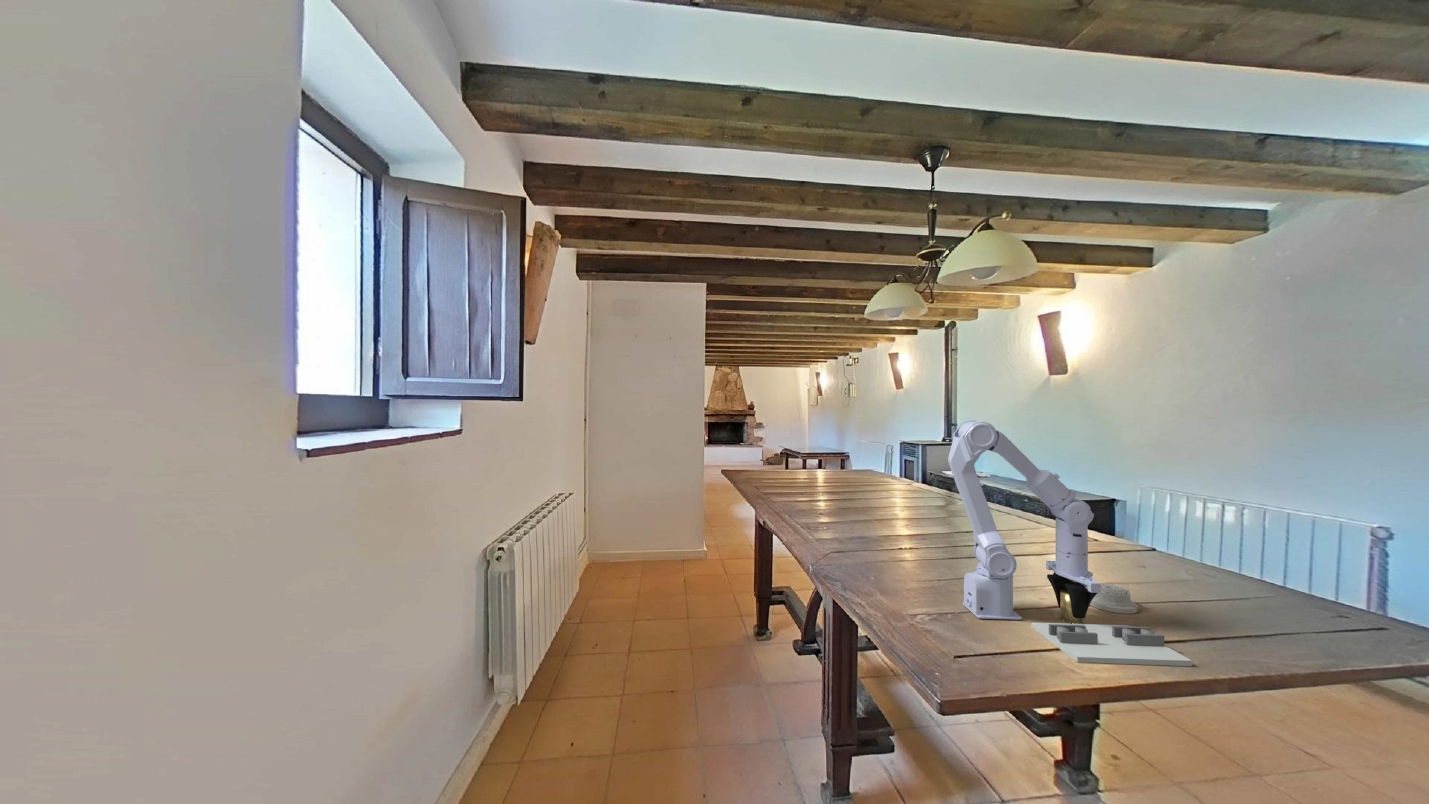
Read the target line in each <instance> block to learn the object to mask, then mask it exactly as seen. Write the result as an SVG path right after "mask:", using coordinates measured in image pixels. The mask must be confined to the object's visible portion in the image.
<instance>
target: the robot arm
mask: <svg viewBox="0 0 1429 804" xmlns="http://www.w3.org/2000/svg"><path fill="white" fill-rule="evenodd" d="M987 451H989V452H993V453H996V454H998V455H999V456H1001V458H1003V459H1004V460H1005V461H1006V462H1007V463H1008V464H1009V465H1011V467H1013V468H1014V469H1015V470H1016V471H1018V473H1020V474H1021V475H1022V476H1023V477H1024V478H1025V479H1026V487H1027V489H1028V490H1030V491H1031V493H1032V494H1034V495H1035V496H1036V497H1037V498H1038V499H1039V500H1040V501H1041V502H1042V503H1043V504H1044V505H1045V506H1046V507H1047V508H1048V509H1050V512H1051V515H1053V516H1055V560H1045V569H1046V570H1048V571H1053V573H1052V574H1047V575H1046V578H1047V579H1048V581H1049V583H1050V585H1051V587H1052V589H1053V592H1054V595H1055V598H1056V602H1057V605H1058V608H1059V609H1060V591H1061V590H1067V591H1068V593H1069V596H1070V601H1071V609H1072V615H1073V617H1074V618H1083V619H1086V616H1087V613H1088V610H1089V607H1090V606H1091V605H1090V603H1091V601H1092V599H1093V598H1094V597H1095V595H1096V594H1097V593H1101V584H1100V583H1101V582H1099V581H1097V580H1095V579H1094V577H1093V576H1094V575H1093V572H1091V571H1089V568H1088V567H1089V564H1088V563H1089V560H1088V559H1089V558H1088V557H1089V555H1088V554H1089V549H1088V548H1089V536H1088V534H1089V532H1088V531H1089V530H1088V528H1089V527H1088V526H1089V524H1090V523H1091V522H1092V521H1093V519H1094V517H1095V513H1094V512H1093V511H1092V510H1091V506H1090V505H1089V504H1088V503H1087V502H1085V501H1084V500H1081V499H1079V498H1077V497H1076V495H1077V492H1076V491H1075V490H1074V489H1069V488H1068V487H1067V486H1066V485H1065V484H1064V483H1062V482H1061V480H1059V479H1060V475H1058V474H1057V473H1056V472H1051V471H1050V470H1049V469H1048V470H1047V469H1046V470H1045V469H1039V468H1038V467H1037V466H1036V465H1035V464H1034V463H1033V462H1032V461H1031V460H1030V459H1029V458H1028V457H1027V456H1026V455H1025V454H1024V453H1023V452H1022V451H1021V450H1020V449H1019V448H1018V447H1017V446H1016V445H1015V443H1013V442H1012V441H1011V439H1009V438H1008V437H1007V436H1006V435H1005V434H1004V433H1003V432H1001V431H999V430H998V429H996V428H995V427H994V426H993V424H991V423H989V422H987V421H981V420H980V421H976V420H966V421H964V422H962V423H960V425H959V426H958V427H957V429H956V430H955V431H954V432H953V434H952V443H951V446H950V450H949V454H948V457H947V460H948V461H947V462H948V465H949V468H950V470H951V474H952V477H953V479H954V482H955V485H956V487H957V491H958V493H959V495H960V496H959V497H960V499H961V501H962V505H963V507H964V510H965V513H966V515H967V518H968V521H969V524H970V527H971V529H972V532H973V533H972V534H973V535H972V538H973V542H974V549H973V553H974V557H975V559H976V560H977V561H978V564H977V566H976V570H974V571H973V572H967V573H965V575H964V577H963V602H962V605H963V606H964V607H965V608H966V609H967V610H969V611H970V613H972V614H973V615H974V616H975V617H976V618H978V619H984V620H985V619H988V620H1013V621H1020V620H1021V621H1022V619H1023V617H1022V616H1021V615H1020V614H1018V613H1016V612H1015V611H1014V600H1013V599H1014V573H1015V572H1016V570H1017V566H1018V564H1017V560H1016V557H1015V556H1014V555H1013V554H1012V552H1010V551H1009V550H1008V549H1007V546H1006V544H1005V542H1004V540H1003V538H1002V536H1001V534H1000V533H999V531H998V529H997V526H996V523H995V520H994V517H993V514H992V512H991V510H990V507H989V504H988V500H987V498H986V496H985V492H984V489H983V488H982V485H981V482H980V478H979V477H978V474H977V471H976V468H975V464H976V462H977V461H978V460H979V458H980V457H981V456H982V454H984V453H985V452H987Z"/></svg>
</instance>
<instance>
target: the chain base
mask: <svg viewBox="0 0 1429 804" xmlns="http://www.w3.org/2000/svg"><path fill="white" fill-rule="evenodd" d="M1030 627H1031V628H1032V629H1033V630H1034V629H1035V630H1034V631H1036V633H1038V632H1039V633H1038V634H1039V635H1040V636H1042V635H1043V636H1042V637H1044V638H1045V639H1046V640H1047V641H1048V642H1050V643H1052V644H1053V645H1054V646H1055V647H1057V649H1058V650H1060V651H1062V652H1063V653H1064V654H1066V655H1067V656H1068V657H1070V658H1071V659H1072V660H1074V661H1075V662H1076V663H1082V664H1083V663H1086V664H1116V665H1117V664H1118V665H1119V664H1120V665H1139V666H1140V665H1141V666H1143V665H1144V666H1145V665H1146V666H1147V665H1148V666H1175V667H1193V661H1192V660H1191V659H1189V658H1188V657H1186V656H1184V655H1183V654H1180V653H1179V652H1177V651H1175V650H1173V649H1172V648H1170V647H1168V646H1166V645H1165V636H1164V635H1162V634H1156V633H1155V632H1154V631H1153V630H1151V628H1150V627H1148V626H1131V625H1127V624H1097V623H1095V624H1093V623H1090V624H1089V623H1083V624H1071V623H1067V622H1065V623H1063V622H1062V623H1061V622H1030Z"/></svg>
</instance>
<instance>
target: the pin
mask: <svg viewBox="0 0 1429 804" xmlns="http://www.w3.org/2000/svg"><path fill="white" fill-rule="evenodd" d="M1059 609H1060V610H1059V611H1060V613H1059V614H1060V620H1061V621H1063V620H1064V621H1063V622H1065V623H1067V622H1068V623H1067V624H1071V623H1073V624H1082V623H1083V624H1084V618H1074V617H1073V615H1072V609H1071V601H1070V596H1069V593H1068V591H1067V590H1061V591H1060V608H1059Z"/></svg>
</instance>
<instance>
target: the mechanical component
mask: <svg viewBox="0 0 1429 804" xmlns="http://www.w3.org/2000/svg"><path fill="white" fill-rule="evenodd" d="M1099 583H1100V584H1101V593H1097V594H1096V595H1095V597H1094V598H1093V599H1092V601H1091V603H1090V605H1089V606H1091V607H1093V608H1096V609H1099V610H1103V611H1106V612H1110V613H1117V614H1123V615H1125V614H1126V615H1127V614H1128V615H1131V614H1136V613H1137V612H1138V609H1139V608H1138V605H1137V603H1136V602H1134V601H1133V600H1131V593H1130V590H1129V589H1127V588H1124V587H1123V586H1118V585H1115V584H1109V583H1104V582H1099Z"/></svg>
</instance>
